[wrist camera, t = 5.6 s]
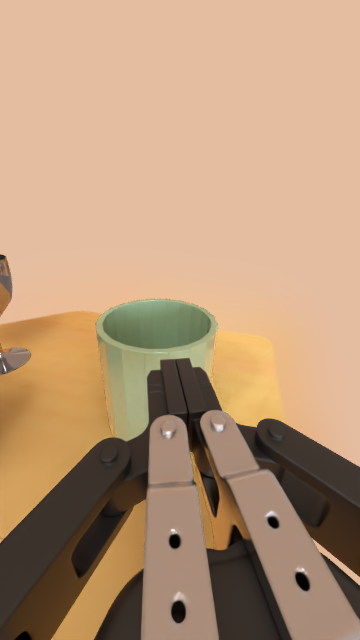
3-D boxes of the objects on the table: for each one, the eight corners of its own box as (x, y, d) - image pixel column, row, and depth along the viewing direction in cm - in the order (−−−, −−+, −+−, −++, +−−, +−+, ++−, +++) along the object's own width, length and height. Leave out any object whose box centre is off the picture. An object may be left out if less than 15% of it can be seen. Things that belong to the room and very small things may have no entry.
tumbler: (142, 482, 20) (135, 372, 15) (93, 404, 28) (77, 313, 22) (226, 418, 27) (242, 326, 21) (168, 369, 34) (169, 292, 29)
